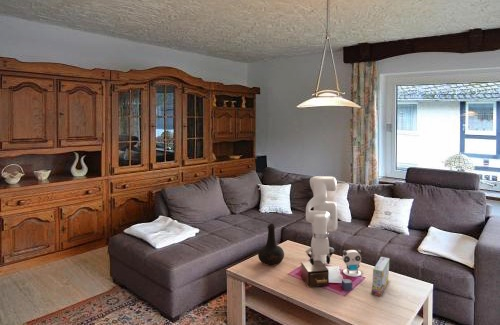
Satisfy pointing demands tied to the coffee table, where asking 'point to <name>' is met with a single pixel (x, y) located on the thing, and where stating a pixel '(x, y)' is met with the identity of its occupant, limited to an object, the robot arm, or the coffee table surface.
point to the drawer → (319, 279)
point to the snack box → (380, 276)
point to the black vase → (271, 249)
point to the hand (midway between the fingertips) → (320, 263)
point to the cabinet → (311, 269)
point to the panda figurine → (352, 262)
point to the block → (346, 284)
